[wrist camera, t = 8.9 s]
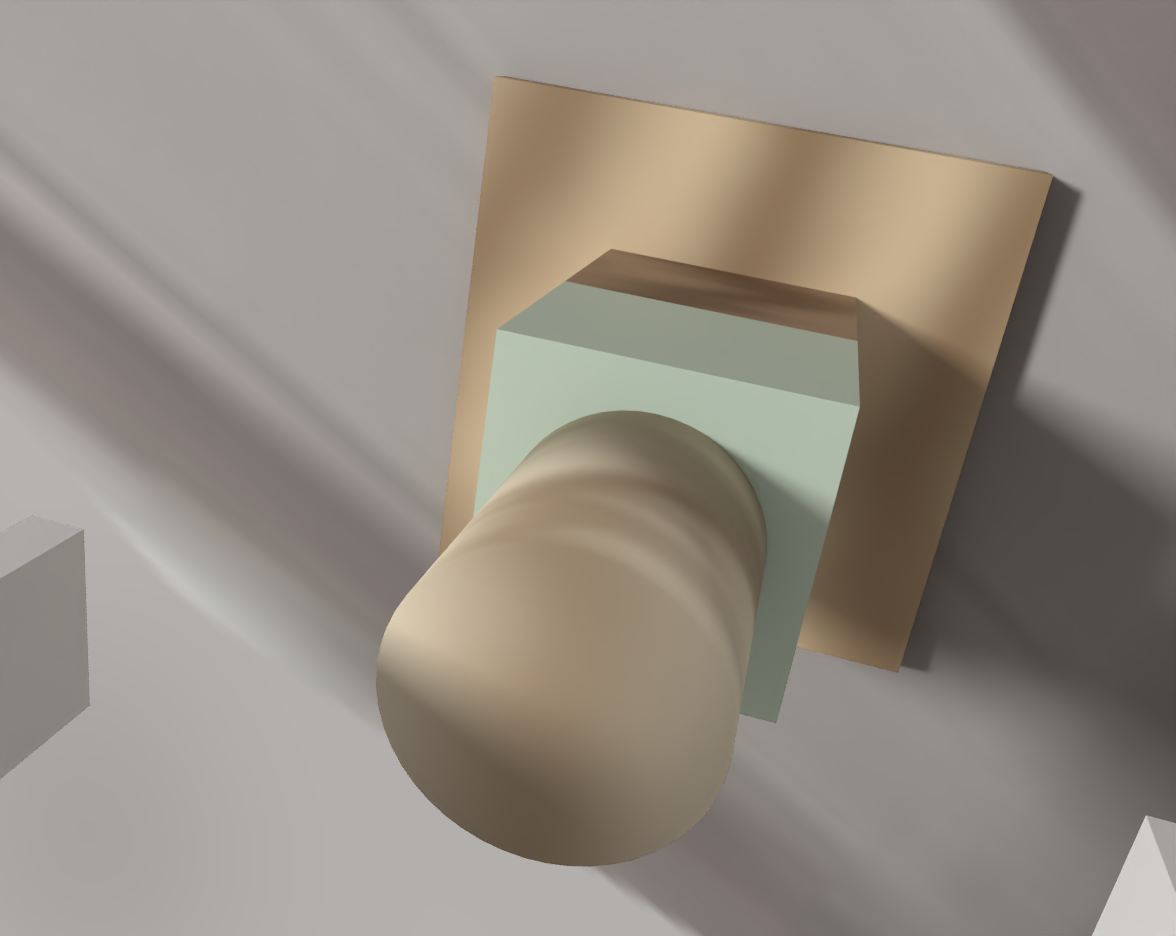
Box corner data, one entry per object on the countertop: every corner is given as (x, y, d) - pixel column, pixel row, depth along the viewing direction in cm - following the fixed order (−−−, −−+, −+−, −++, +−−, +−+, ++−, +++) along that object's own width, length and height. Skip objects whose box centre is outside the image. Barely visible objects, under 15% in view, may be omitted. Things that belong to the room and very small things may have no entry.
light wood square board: (1046, 171, 26) (1053, 175, 25) (896, 655, 31) (898, 672, 30) (506, 76, 28) (494, 76, 27) (449, 543, 34) (438, 556, 33)
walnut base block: (856, 297, 27) (857, 341, 23) (798, 524, 30) (789, 605, 25) (611, 248, 28) (565, 281, 24) (574, 472, 31) (526, 540, 26)
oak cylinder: (794, 445, 19) (772, 598, 13) (735, 685, 20) (694, 908, 15) (522, 383, 19) (392, 503, 14) (489, 620, 21) (362, 809, 16)
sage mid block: (857, 341, 23) (859, 407, 18) (789, 605, 25) (775, 723, 20) (565, 281, 24) (497, 329, 19) (526, 541, 26) (457, 639, 21)
